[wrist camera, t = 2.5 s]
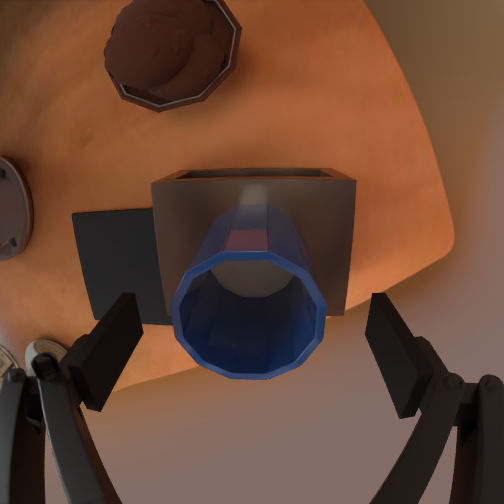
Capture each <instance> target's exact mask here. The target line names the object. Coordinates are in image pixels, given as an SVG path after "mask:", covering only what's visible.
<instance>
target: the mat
mask: <svg viewBox="0 0 504 504" xmlns="http://www.w3.org/2000/svg"><path fill="white" fill-rule="evenodd" d="M72 220H73V226H74V232H75V238H76V243H77V248H78V253H79V258H80V263H81V267H82V272H83V276H84V280H85V285H86V289H87V293H88V296H89V300H90V304H91V308H92V311H93V315H94V318H95V320H101V319H102V317H103V316H104V315H105V314H106V312H107V311H108V310H109V309H110V308H111V306H112V305H113V304H114V303H115V301H116V300H117V299H118V298H119V297H120V295H121V294H122V293H123V292H130V293H135V295H136V300H137V305H138V310H139V315H140V319H141V324H155V325H173V322H172V316H169V315H167V309H166V304H165V297H164V291H163V285H162V278H161V271H160V264H159V257H158V249H157V241H156V232H155V223H154V214H153V208H152V209H132V210H115V211H100V212H86V213H73V214H72Z"/></svg>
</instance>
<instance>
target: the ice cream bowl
mask: <svg viewBox="0 0 504 504" xmlns="http://www.w3.org/2000/svg"><path fill="white" fill-rule="evenodd" d="M241 31H242V27H241V26H240V24H239V23H238V21H237V20H236V18H235V17H234V15H233V14H232V12H231V11H230V9H229V8H228V6H227V5H226V4H225V2H224V1H223V0H133V1H132V2H131V3H130V4H129V5H128V6H126V7H124V8H123V9H122V10H121V13H120V14H119V15H118V16H117V19H116V22H115V24H114V26H113V28H112V30H111V37H110V38H109V40H108V41H107V42H106V47H105V49H104V56H105V68H106V70H107V72H108V74H109V76H110V78H111V80H112V82H113V83H114V85H115V87H116V89H117V91H118V93H119V95H120V97H121V99H123V100H126V101H129V102H131V103H134V104H137V105H140V106H142V107H145V108H148V109H150V110H153V111H155V112H158V113H159V112H162V111H166V110H170V109H173V108H177V107H181V106H185V105H189V104H193V103H197V102H202V101H204V100H205V99H206V98H207V97H208V96H209V95H210V94H211V93H212V92H213V91H214V90H215V89H216V88H217V87H218V86H219V85H220V84H221V83H222V82H223V81H224V80H225V79H226V78H227V77H228V76H229V75H230V74H231V73H232V72H233V71H234V70H235V67H236V60H237V54H238V48H239V43H240V37H241Z"/></svg>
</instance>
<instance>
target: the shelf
mask: <svg viewBox="0 0 504 504" xmlns="http://www.w3.org/2000/svg"><path fill="white" fill-rule="evenodd" d="M151 192H152V203H153V214H154V223H155V232H156V241H157V249H158V257H159V264H160V271H161V278H162V285H163V291H164V297H165V304H166V309H167V315H169V316H171V310H170V303H171V300H172V298H173V296H174V294H175V292H176V290H177V288H178V286H179V284H180V282H181V280H182V278H183V276H184V274H185V272H186V270H187V268H188V267H189V265H190V263H191V261H192V259H193V258H194V256H195V254H196V252H197V250H198V249H199V247H200V245H201V243H202V241H203V240H204V238H205V236H206V234H207V233H208V231H209V229H210V227H211V226H212V224H213V222H214V220H215V219H216V218H218V217H220V216H221V215H223V214H225V213H226V212H228V211H230V210H231V209H233V208H235V207H236V206H239V205H268V206H270V207H272V208H274V209H275V210H277V211H279V212H281V213H283V214H284V215H286V216H288V217H290V218H291V219H292V221H293V222H294V224H295V226H296V228H297V229H298V231H299V233H300V235H301V236H302V238H303V240H304V242H305V245H306V248H307V250H308V253H309V256H310V259H311V261H312V264H313V267H314V270H315V272H316V275H317V278H318V281H319V284H320V286H321V289H322V292H323V295H324V298H325V301H326V305H327V311H326V316H343V315H344V311H345V304H346V296H347V288H348V280H349V271H350V261H351V251H352V240H353V228H354V214H355V197H356V180H354V179H352V178H350V177H348V176H346V175H344V174H342V173H340V172H338V171H336V170H333V169H329V168H226V169H201V170H182V171H178V172H176V173H173V174H171V175H169V176H166V177H164V178H162V179H160V180H157V181H155V182H153V183H151Z"/></svg>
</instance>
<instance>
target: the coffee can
mask: <svg viewBox="0 0 504 504" xmlns="http://www.w3.org/2000/svg"><path fill="white" fill-rule="evenodd" d="M13 368H19V366H18V364H17V363H16V361H15V360H14V358H13V357H12V356H11V354H10V353H9V352H8V351H7V350H6V349H5V348H4V347H2V346H1V345H0V388H1V384H2V381H3V377H4V375H5V374H6V373H7V372H8V371H9V370H11V369H13Z"/></svg>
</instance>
